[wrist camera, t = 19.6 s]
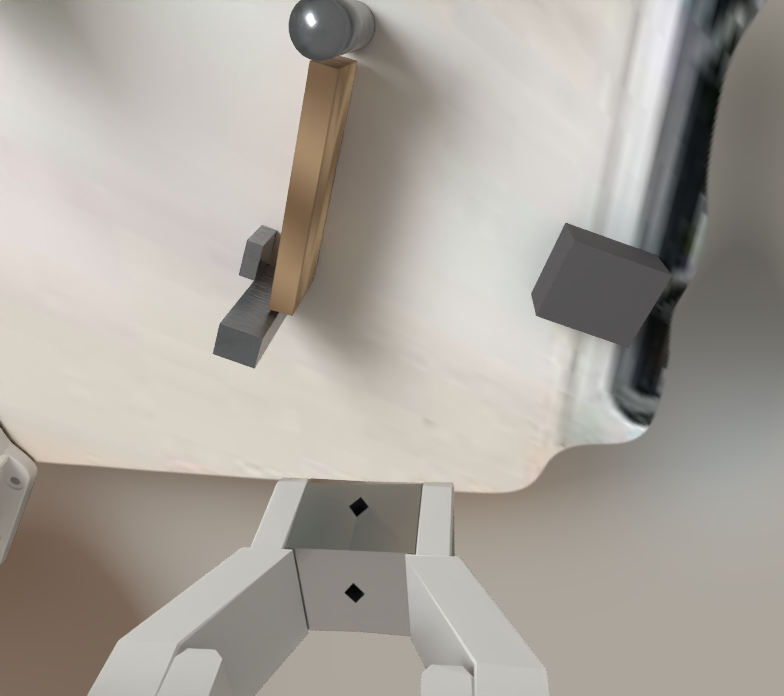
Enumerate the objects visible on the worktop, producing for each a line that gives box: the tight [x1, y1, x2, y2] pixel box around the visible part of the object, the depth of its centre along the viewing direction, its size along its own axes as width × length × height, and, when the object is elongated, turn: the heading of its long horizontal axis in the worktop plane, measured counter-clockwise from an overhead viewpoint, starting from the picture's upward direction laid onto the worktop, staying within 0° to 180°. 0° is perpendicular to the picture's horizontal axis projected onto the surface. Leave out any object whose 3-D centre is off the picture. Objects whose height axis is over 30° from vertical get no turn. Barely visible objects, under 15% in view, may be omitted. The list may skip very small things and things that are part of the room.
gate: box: [269, 56, 358, 316], centre depth 34 cm, size 13×1×6 cm, turn 166°
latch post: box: [213, 225, 287, 368], centre depth 36 cm, size 4×3×9 cm
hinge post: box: [289, 0, 375, 61], centre depth 29 cm, size 2×2×9 cm
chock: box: [531, 223, 672, 348], centre depth 37 cm, size 5×6×4 cm
